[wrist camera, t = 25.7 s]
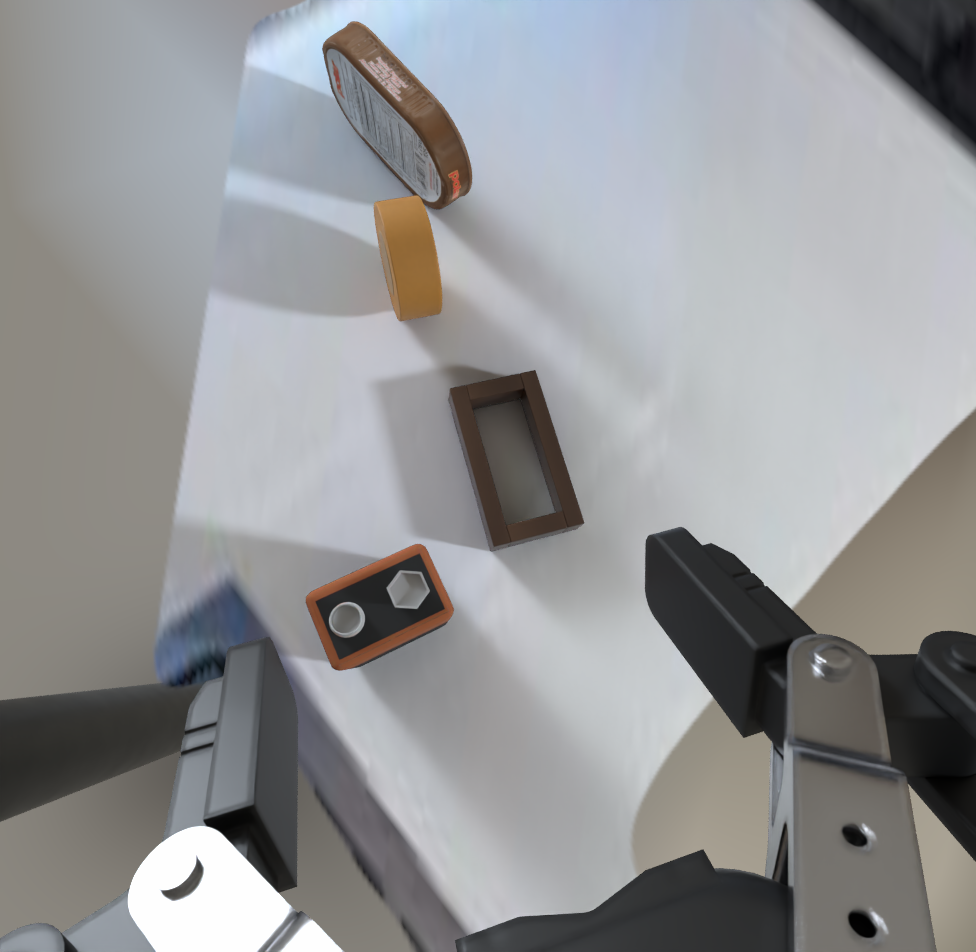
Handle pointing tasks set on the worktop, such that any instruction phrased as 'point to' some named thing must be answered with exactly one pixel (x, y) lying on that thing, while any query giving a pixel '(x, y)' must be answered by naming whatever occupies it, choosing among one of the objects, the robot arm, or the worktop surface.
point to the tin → (397, 116)
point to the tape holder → (547, 450)
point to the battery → (379, 608)
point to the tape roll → (409, 257)
